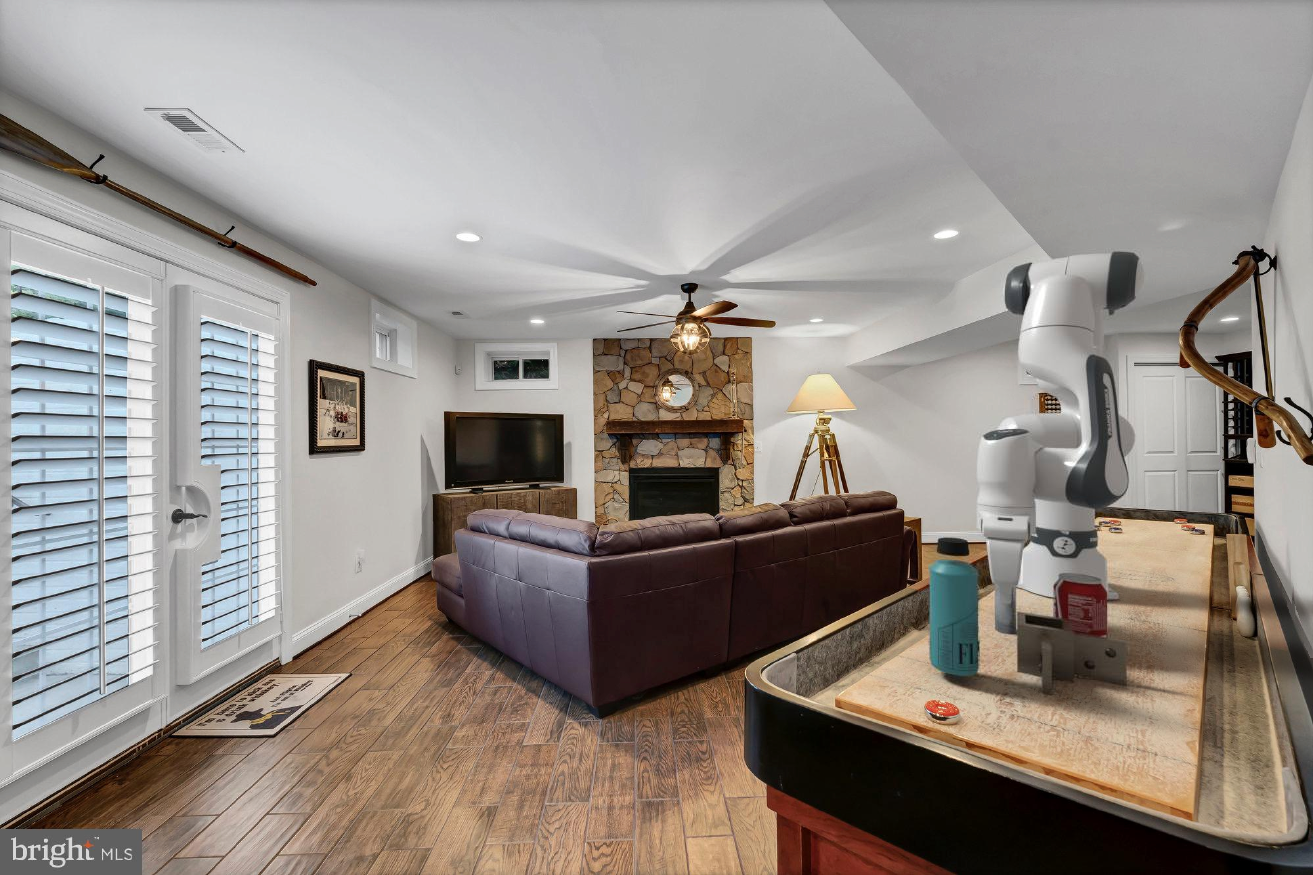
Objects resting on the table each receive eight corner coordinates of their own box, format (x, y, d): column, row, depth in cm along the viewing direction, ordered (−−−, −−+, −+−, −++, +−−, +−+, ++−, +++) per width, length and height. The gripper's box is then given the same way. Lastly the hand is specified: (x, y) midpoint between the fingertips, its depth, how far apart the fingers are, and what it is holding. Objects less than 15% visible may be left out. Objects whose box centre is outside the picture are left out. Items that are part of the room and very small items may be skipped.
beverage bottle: (958, 690, 74) (958, 545, 74) (917, 671, 80) (917, 536, 80) (990, 681, 77) (990, 540, 76) (948, 663, 83) (948, 532, 82)
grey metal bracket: (1017, 655, 85) (1017, 611, 85) (1122, 675, 78) (1122, 627, 78) (1017, 687, 75) (1017, 637, 74) (1138, 713, 68) (1138, 657, 68)
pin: (995, 626, 98) (994, 559, 98) (1016, 629, 96) (1016, 562, 96) (994, 631, 95) (994, 563, 95) (1016, 635, 94) (1016, 565, 93)
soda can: (1117, 662, 82) (1117, 584, 82) (1067, 659, 84) (1067, 582, 83) (1091, 645, 89) (1091, 572, 89) (1045, 642, 90) (1045, 571, 90)
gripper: (987, 511, 106) (987, 582, 106) (981, 528, 89) (981, 611, 89) (1026, 514, 102) (1026, 587, 103) (1028, 531, 85) (1028, 618, 86)
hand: (1005, 598), depth 96 cm, fingers closed on pin, 3 cm apart
